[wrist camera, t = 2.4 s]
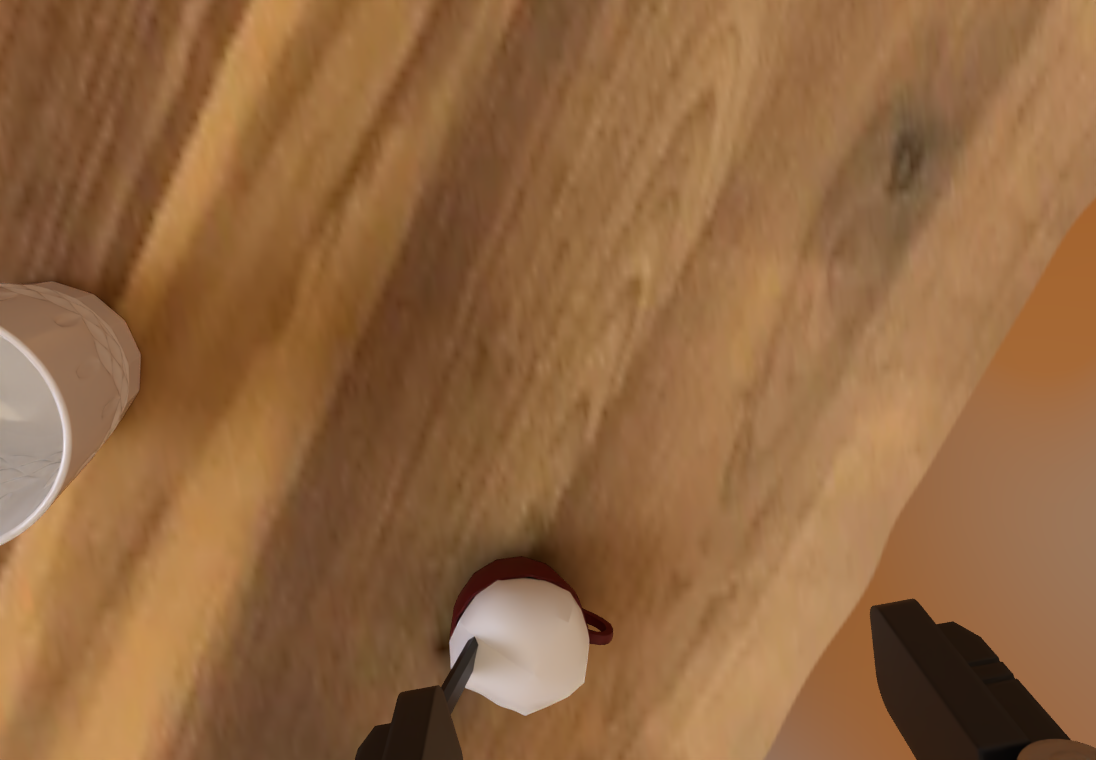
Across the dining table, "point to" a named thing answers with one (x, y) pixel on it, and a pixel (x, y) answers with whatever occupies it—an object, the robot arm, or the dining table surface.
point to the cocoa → (520, 637)
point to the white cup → (56, 392)
